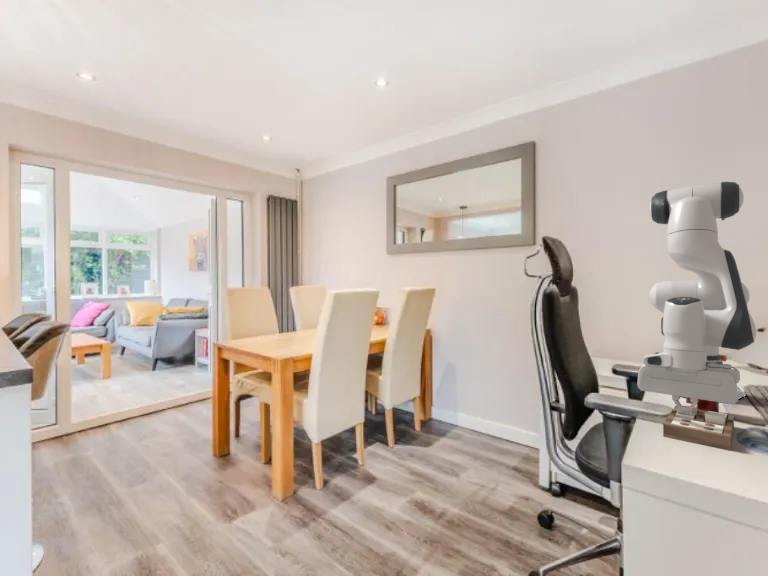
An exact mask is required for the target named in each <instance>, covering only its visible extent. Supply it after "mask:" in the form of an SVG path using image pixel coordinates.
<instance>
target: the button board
mask: <svg viewBox="0 0 768 576" xmlns="http://www.w3.org/2000/svg"><path fill="white" fill-rule="evenodd" d="M677 411H678V407H677V406H676V405H675V406H674V407H673V409H672V410H671V411H670V413H669V414H668V415H667V418H666V419H665V420H664V422H663V423H662V431H663V432H662V434H663V437H665V438H670V439H675V440H680V441H684V442H689V443H692V444H693V443H694V444H698V445H703V446H708V447H712V448H718V449H721V450H727V451H732V450H731V449H732V444H733V443H732V442H733V436H734V431H733V430H734V428H735V417H734V416H735V415H733V414H728V413H726V414H727V420H726V419H725V421H726V425H721V424H715V423H710V422H705V413H706V411H704V410H698V409H697V413H698V414H697V415H696V414H695V420H693V419H688V418H682V417H677V416H676V412H677Z"/></svg>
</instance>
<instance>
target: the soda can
mask: <svg viewBox="0 0 768 576" xmlns="http://www.w3.org/2000/svg"><path fill="white" fill-rule="evenodd" d="M685 403H690V404H692V403H693V402H690V398H688V397H685ZM696 405H697V409H698V410H704V411H711V412H717V413H720V402H715V401H708V400H702V399H698V403H697V404H696Z"/></svg>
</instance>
